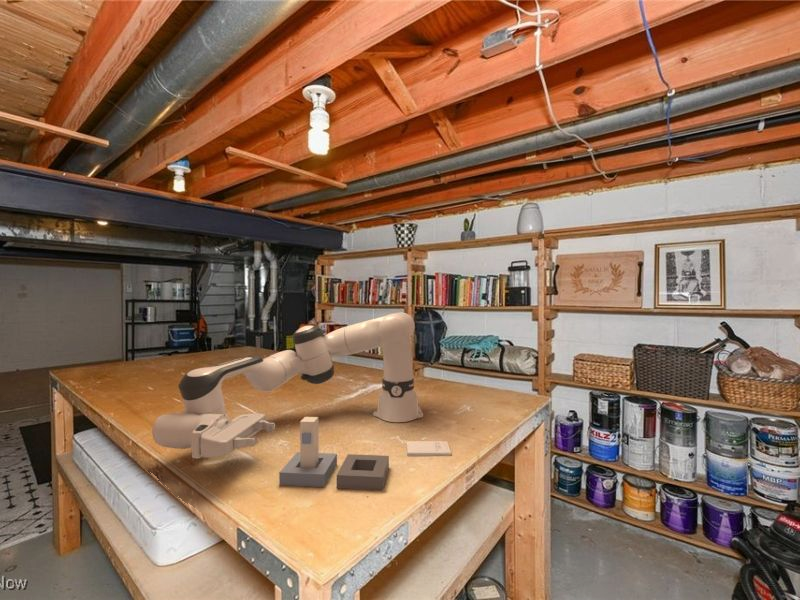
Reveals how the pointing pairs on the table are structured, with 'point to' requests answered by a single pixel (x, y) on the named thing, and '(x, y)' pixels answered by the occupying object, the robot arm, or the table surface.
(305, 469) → the socket
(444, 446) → the external hard drive
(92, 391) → the table surface
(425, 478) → the table surface
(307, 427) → the plug
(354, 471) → the socket
